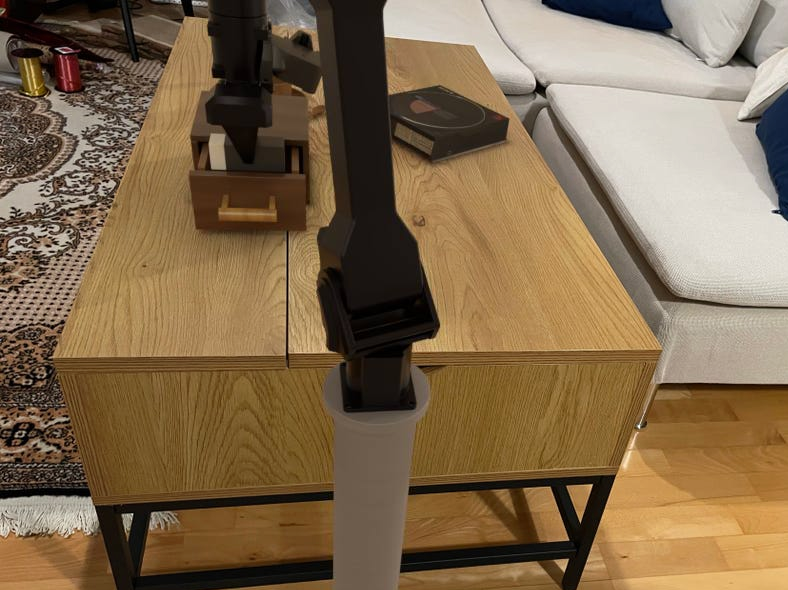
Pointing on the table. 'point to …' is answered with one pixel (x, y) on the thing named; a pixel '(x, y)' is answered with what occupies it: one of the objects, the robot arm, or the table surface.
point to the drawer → (249, 196)
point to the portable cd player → (443, 123)
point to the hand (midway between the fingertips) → (249, 157)
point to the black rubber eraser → (265, 158)
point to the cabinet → (264, 130)
